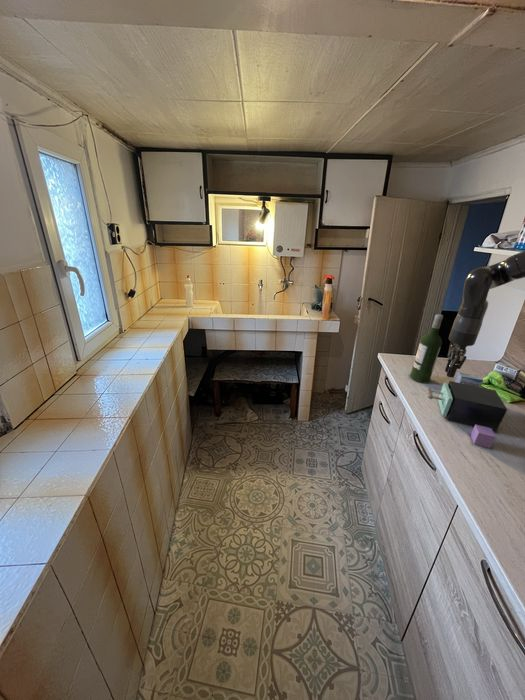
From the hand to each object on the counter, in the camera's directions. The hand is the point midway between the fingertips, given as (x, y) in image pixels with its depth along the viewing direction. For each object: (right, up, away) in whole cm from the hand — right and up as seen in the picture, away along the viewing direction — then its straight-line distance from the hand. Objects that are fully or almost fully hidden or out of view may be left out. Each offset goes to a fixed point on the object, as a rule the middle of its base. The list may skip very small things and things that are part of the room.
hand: (449, 374), depth 100 cm
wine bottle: (+5, -5, +27) cm, 28 cm away
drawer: (+4, -14, +4) cm, 15 cm away
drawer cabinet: (+9, -16, +3) cm, 18 cm away
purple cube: (+4, -21, -9) cm, 23 cm away
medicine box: (+17, -10, +17) cm, 26 cm away
